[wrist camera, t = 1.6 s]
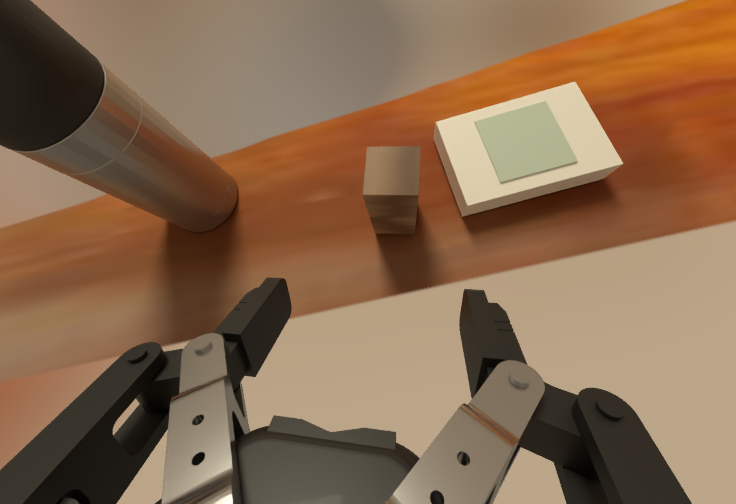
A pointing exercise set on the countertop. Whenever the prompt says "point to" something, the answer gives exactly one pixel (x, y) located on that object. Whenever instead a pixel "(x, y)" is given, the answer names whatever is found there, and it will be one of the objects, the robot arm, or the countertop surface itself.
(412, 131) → the countertop surface
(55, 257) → the countertop surface
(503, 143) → the plinth
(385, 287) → the countertop surface
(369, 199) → the walnut block
